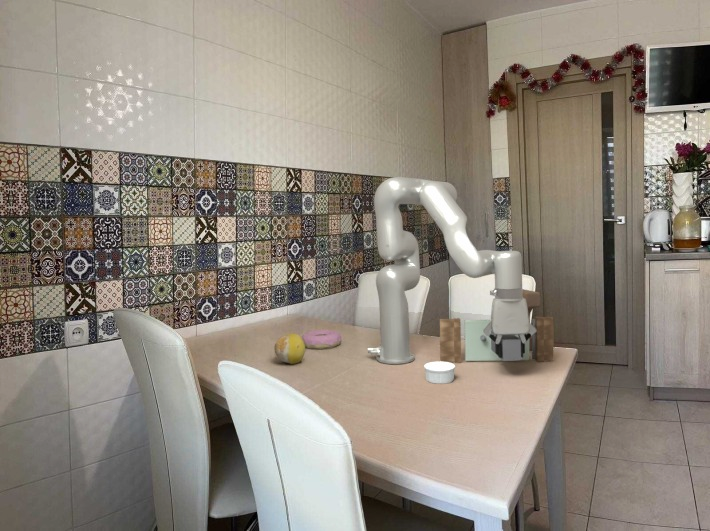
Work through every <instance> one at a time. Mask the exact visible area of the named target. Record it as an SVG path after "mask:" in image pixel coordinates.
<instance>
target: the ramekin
mask: <svg viewBox="0 0 710 531" xmlns="http://www.w3.org/2000/svg"><path fill="white" fill-rule="evenodd" d="M423 368H424V372H425V373H424V374H425V379H426V381H427V382H428V383H430V384H434V385H446V384H451V383H452V382H453V381H454V380H455V379H454V378H455V369H456V365H455V363H449V362H441V360H440V361H431V362H427V363H425V364H424V365H423Z"/></svg>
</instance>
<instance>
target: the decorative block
mask: <svg viewBox="0 0 710 531" xmlns="http://www.w3.org/2000/svg"><path fill="white" fill-rule="evenodd" d="M522 293H523V298H525V299H526V303H527V308H528V317H529V322H530V323H531V313H532V311H533V309H535V308H537V307H540V306H541V293H540V292H539V291H534V290H528V289H523V288H522ZM529 330H530V329H529ZM529 352H532V336H531V337H530V338H529Z"/></svg>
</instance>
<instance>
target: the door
mask: <svg viewBox="0 0 710 531" xmlns="http://www.w3.org/2000/svg"><path fill="white" fill-rule="evenodd" d="M490 322H491V319H465V320H464V360H465V361H466V362H470V361H471V362H472V361H473V362H477V361H478V362H480V361H481V362H482V361H483V362H484V361H488V362H489V361H503V360H502V359H501V358H499V357H498V355H496V354H495V353H494V352H493V351H492V350H491V338H490V337H488V336H487V335H486V334H484V332H483V330H484V329H485V328H486V326H487V325H488V324H489V323H490ZM531 324H532V325H533V327H534V328H535V318H532V319H531ZM491 331H492V330H490V333H491ZM524 335H525V334H524ZM515 336H516V337H518V338H519V336H518V334H515ZM531 357H532V358H531V359H532V360H533V361H536V360H535V333H534V334H533V335H532V351H531ZM520 361H530V351H529V339H528V340H527V341H526V343H525V354H523V357H521V360H520Z"/></svg>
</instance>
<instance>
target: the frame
mask: <svg viewBox="0 0 710 531" xmlns="http://www.w3.org/2000/svg"><path fill="white" fill-rule="evenodd" d="M534 319H535V329H536V330H537V331H536V332H535V360H534V361H536V362H537V363H544V362H554V317H553V316H535V317H534ZM461 322H462V321H461V318H459V317H457V318H455V317H454V318H439V345H440V346H439V348H440V352H439V354H440V361H441V362H449V363H452V362H453V363H452V364H461V363H462V332H461V330H462V327H461V325H462V324H461Z"/></svg>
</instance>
